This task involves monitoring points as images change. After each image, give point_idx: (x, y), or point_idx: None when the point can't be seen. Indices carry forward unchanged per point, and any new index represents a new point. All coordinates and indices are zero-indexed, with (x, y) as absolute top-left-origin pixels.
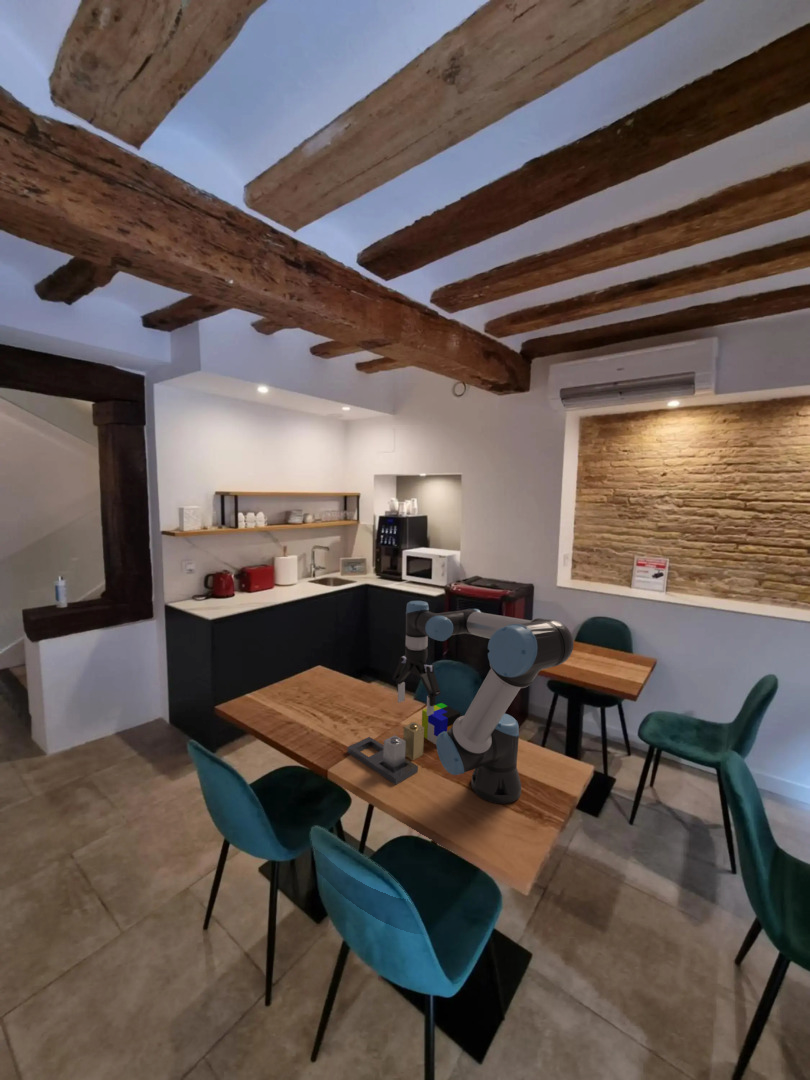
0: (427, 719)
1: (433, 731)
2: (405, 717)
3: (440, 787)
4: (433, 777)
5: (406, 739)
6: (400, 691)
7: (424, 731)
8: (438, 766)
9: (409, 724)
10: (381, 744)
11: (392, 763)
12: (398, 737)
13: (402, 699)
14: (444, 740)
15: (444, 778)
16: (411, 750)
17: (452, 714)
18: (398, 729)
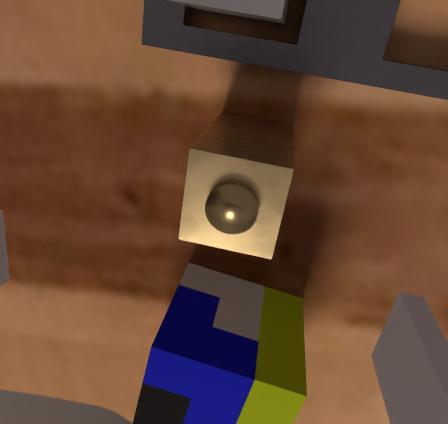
0: (262, 352)
1: (221, 307)
2: None
3: (10, 9)
4: (76, 54)
5: (265, 141)
6: (438, 415)
7: (283, 309)
8: (111, 140)
9: (275, 217)
10: (422, 91)
11: None
12: (236, 6)
13: (387, 347)
14: None
15: (40, 80)
16: (228, 122)
17: (146, 419)
18: (423, 288)
